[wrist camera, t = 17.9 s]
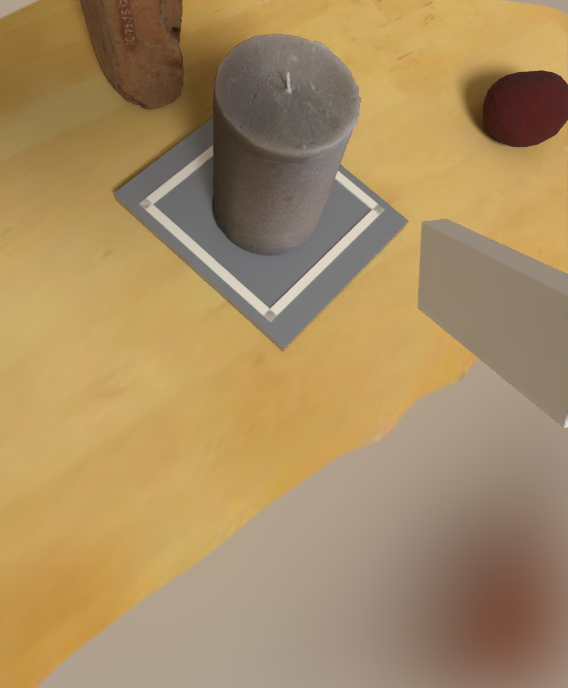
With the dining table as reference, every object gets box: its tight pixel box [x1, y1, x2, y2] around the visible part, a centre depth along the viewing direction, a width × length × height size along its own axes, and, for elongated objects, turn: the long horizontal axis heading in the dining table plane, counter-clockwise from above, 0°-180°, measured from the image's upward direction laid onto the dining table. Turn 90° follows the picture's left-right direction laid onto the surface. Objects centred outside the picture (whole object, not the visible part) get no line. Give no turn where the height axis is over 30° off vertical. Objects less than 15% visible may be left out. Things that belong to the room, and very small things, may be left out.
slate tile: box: [114, 118, 408, 351], centre depth 47 cm, size 20×17×1 cm
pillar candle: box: [212, 34, 361, 256], centre depth 40 cm, size 10×10×15 cm
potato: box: [483, 71, 568, 147], centre depth 51 cm, size 8×9×6 cm
